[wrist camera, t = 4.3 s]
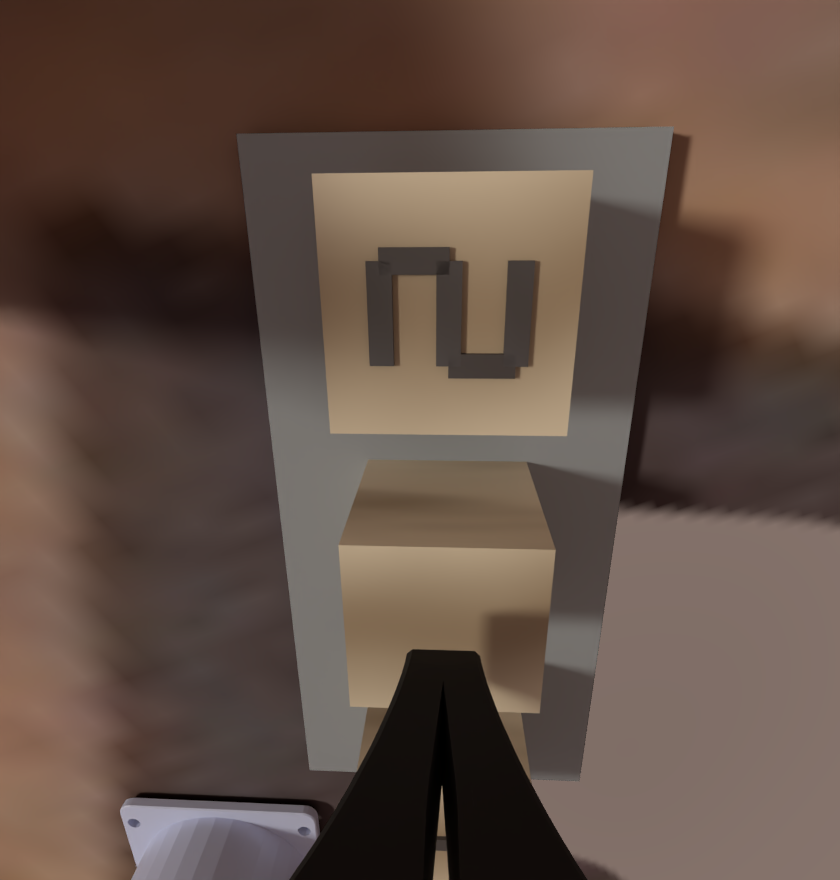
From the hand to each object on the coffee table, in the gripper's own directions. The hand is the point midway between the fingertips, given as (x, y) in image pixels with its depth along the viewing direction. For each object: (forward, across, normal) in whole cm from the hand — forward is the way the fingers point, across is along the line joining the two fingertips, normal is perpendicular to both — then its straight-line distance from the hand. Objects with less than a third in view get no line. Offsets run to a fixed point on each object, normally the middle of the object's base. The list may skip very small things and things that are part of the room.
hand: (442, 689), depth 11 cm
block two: (+6, 0, -7) cm, 9 cm away
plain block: (+6, 0, 0) cm, 6 cm away
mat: (+7, 0, 0) cm, 7 cm away
